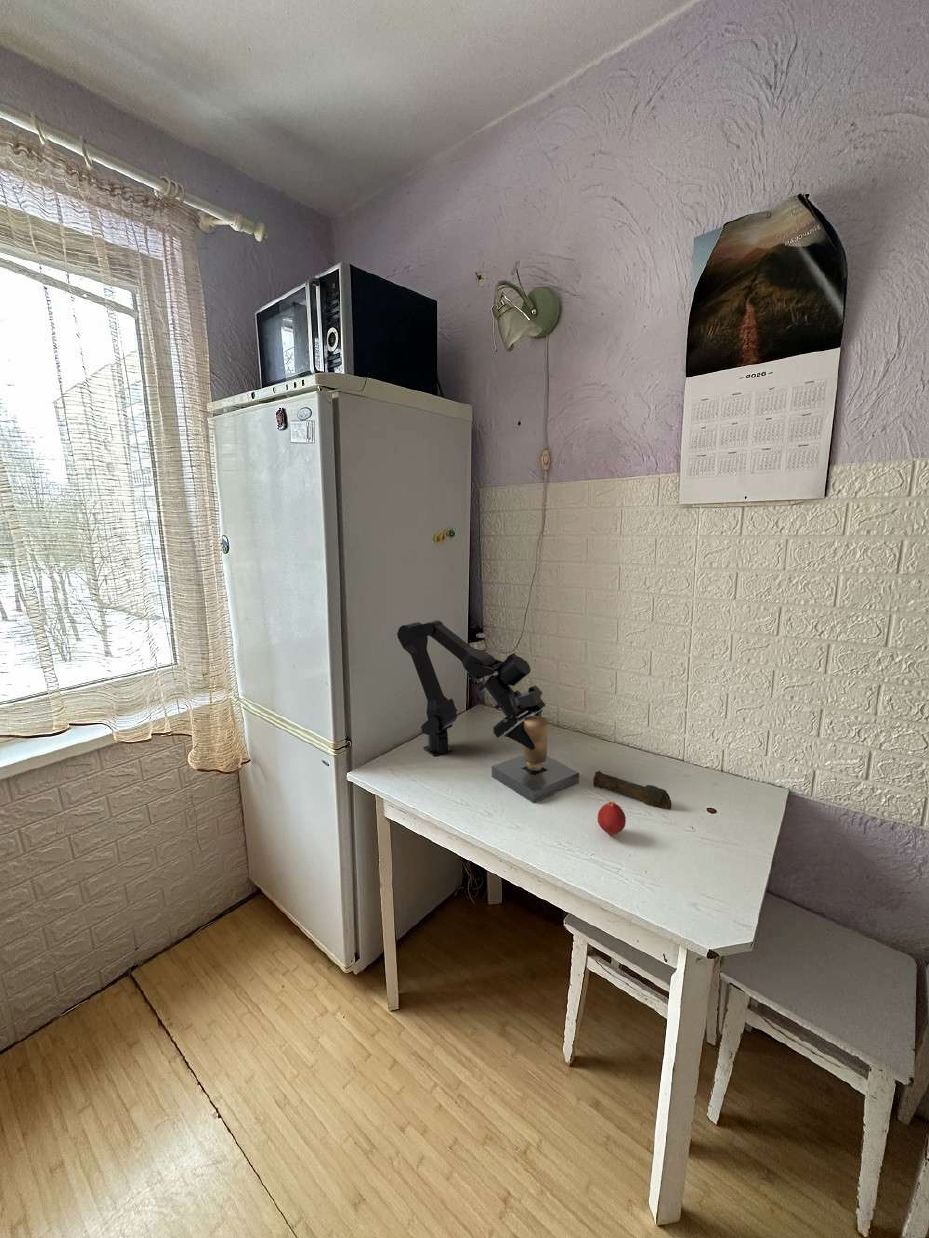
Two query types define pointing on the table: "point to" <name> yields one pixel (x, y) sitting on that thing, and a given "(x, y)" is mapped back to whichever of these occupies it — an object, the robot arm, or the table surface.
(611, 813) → the red pomegranate
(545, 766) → the socket block
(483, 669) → the robot arm
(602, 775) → the hand tool
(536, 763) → the walnut pin
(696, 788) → the table surface
